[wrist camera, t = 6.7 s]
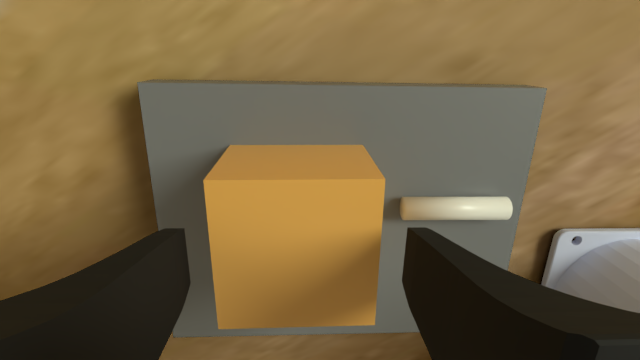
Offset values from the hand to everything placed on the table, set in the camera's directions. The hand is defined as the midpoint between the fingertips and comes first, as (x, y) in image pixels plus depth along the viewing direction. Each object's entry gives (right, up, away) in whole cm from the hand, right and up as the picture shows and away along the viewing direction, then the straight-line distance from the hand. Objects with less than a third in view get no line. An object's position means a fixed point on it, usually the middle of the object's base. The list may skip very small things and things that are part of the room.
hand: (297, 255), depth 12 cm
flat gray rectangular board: (+2, +1, +6) cm, 6 cm away
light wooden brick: (0, +1, +4) cm, 4 cm away
